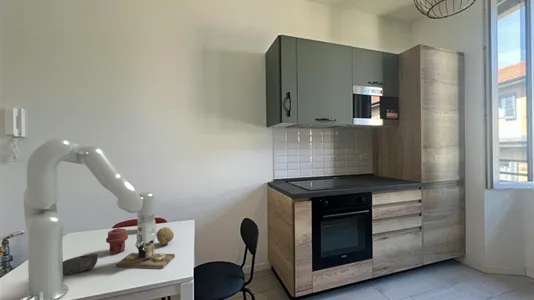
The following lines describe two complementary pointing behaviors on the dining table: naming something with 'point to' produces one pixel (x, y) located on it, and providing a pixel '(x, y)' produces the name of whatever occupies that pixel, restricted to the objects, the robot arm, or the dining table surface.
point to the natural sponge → (164, 235)
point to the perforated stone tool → (79, 263)
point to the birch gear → (149, 249)
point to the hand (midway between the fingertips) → (146, 253)
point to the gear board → (145, 261)
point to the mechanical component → (117, 240)
